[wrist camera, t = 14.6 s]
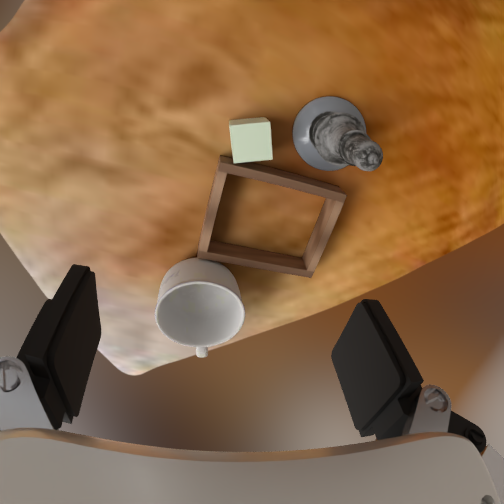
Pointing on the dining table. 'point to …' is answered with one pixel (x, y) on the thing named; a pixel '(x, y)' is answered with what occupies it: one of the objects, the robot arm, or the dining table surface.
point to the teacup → (199, 304)
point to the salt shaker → (344, 141)
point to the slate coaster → (304, 122)
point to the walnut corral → (261, 257)
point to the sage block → (250, 139)
